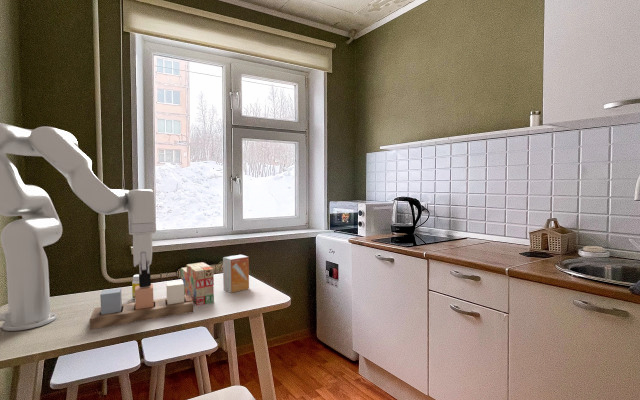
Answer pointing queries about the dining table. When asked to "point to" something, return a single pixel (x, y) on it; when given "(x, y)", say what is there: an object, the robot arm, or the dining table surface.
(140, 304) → the peach block
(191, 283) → the stack of blocks
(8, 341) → the dining table surface
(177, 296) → the button cream
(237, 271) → the small box
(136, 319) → the button board
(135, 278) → the supplement bottle
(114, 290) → the button slate
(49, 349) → the dining table surface
